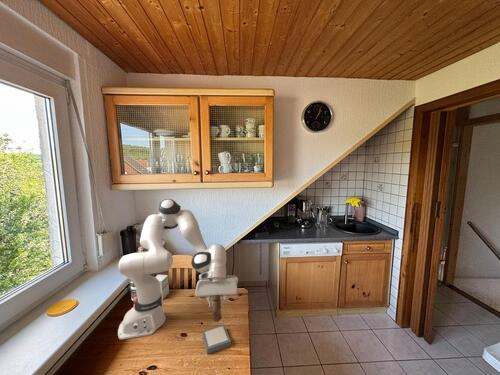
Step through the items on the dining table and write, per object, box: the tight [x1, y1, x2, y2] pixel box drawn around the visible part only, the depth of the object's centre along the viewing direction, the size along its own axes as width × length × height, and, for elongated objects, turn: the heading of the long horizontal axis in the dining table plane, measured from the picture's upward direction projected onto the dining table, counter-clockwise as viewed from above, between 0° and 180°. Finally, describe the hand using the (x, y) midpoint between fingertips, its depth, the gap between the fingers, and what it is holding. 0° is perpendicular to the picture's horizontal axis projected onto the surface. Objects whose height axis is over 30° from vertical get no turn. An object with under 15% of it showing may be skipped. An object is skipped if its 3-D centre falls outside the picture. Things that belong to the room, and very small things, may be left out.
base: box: [201, 324, 232, 355], centre depth 104 cm, size 11×11×3 cm
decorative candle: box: [129, 280, 137, 301], centre depth 137 cm, size 9×9×25 cm
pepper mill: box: [211, 295, 222, 323], centre depth 102 cm, size 4×4×11 cm
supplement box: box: [154, 273, 170, 301], centre depth 138 cm, size 7×7×13 cm
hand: (216, 306), depth 101 cm, fingers closed on pepper mill, 4 cm apart
